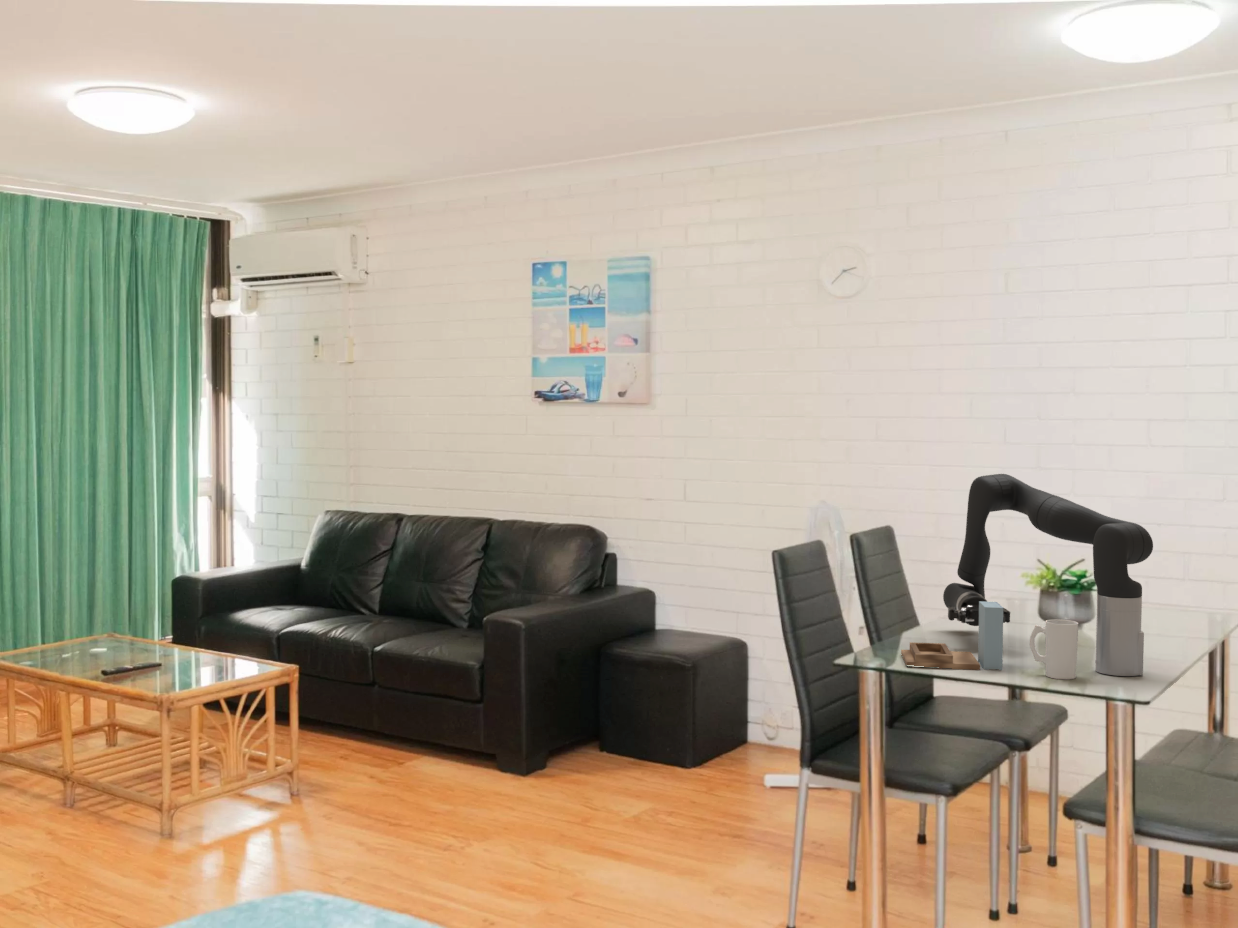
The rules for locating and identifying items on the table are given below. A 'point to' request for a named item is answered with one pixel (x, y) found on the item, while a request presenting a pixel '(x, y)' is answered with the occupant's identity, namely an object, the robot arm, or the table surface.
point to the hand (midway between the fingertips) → (982, 619)
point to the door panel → (990, 635)
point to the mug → (1058, 648)
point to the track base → (938, 657)
